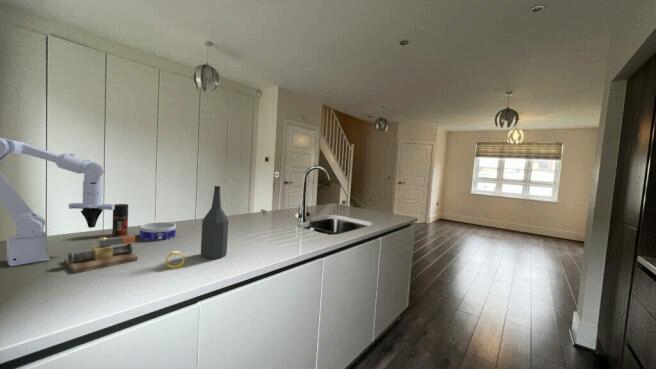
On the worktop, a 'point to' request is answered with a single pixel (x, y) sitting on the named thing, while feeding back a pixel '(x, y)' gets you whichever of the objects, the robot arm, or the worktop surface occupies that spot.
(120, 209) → the deodorant
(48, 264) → the worktop surface
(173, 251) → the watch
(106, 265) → the valve board
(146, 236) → the dog bowl
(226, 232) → the bottle
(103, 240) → the valve lever
